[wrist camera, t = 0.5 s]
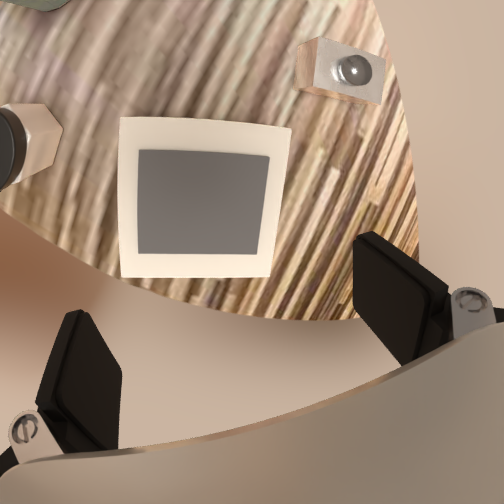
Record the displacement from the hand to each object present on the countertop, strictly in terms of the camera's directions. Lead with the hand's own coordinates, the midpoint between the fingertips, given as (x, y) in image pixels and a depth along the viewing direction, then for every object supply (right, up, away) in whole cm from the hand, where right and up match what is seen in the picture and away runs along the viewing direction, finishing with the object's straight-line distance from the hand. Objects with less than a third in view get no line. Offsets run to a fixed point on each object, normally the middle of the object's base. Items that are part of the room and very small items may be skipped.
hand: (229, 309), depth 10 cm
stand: (-6, +10, +26) cm, 28 cm away
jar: (-26, +15, +18) cm, 35 cm away
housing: (+10, +24, +24) cm, 35 cm away
